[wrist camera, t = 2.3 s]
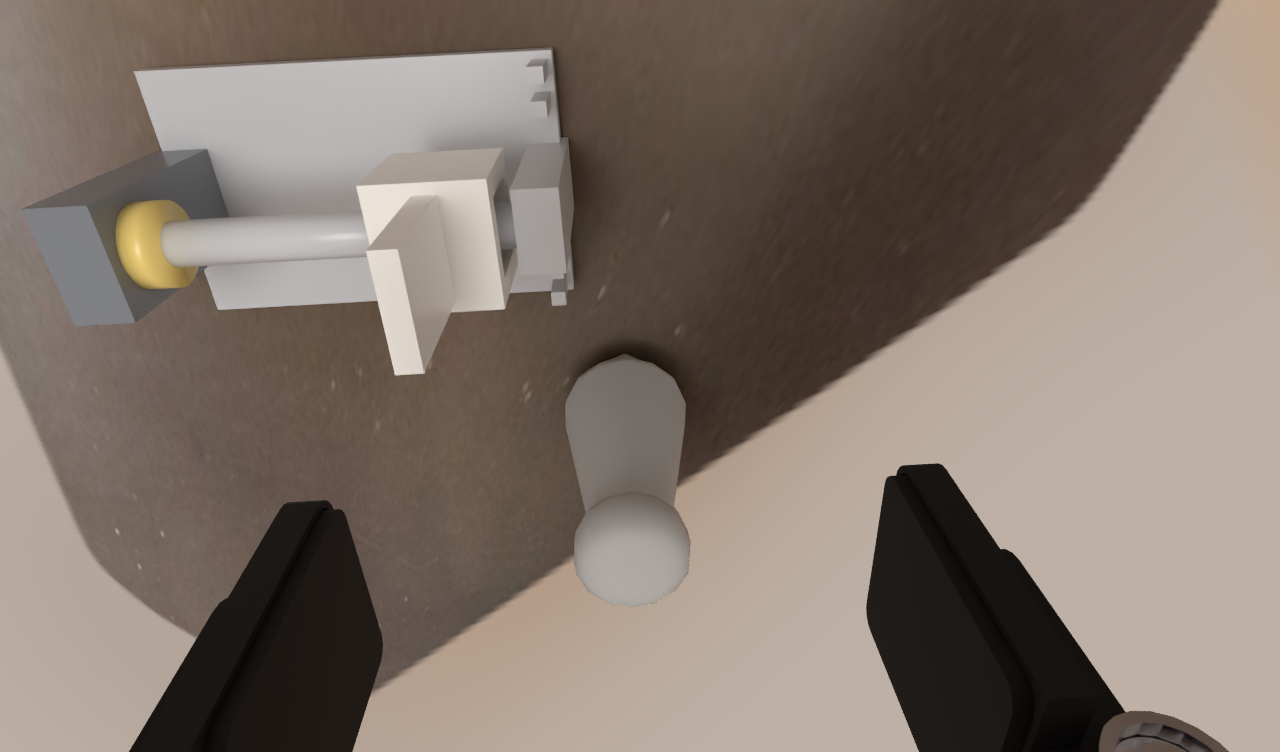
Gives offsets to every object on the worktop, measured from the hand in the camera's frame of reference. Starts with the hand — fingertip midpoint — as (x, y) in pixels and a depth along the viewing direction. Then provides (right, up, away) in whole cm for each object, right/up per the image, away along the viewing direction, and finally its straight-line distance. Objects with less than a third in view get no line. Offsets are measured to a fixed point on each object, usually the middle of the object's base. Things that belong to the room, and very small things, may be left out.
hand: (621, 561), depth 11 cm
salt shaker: (-1, +2, +27) cm, 27 cm away
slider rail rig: (-11, +11, +21) cm, 26 cm away
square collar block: (-7, +9, +17) cm, 20 cm away
